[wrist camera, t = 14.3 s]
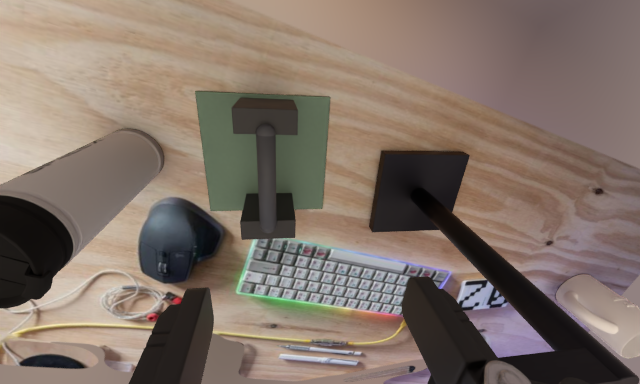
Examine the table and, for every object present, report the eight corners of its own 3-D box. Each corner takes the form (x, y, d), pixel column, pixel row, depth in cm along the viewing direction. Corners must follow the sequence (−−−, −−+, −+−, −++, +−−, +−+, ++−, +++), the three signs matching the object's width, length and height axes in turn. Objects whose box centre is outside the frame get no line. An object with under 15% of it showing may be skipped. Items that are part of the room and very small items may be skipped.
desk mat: (196, 90, 30) (195, 91, 30) (329, 96, 33) (330, 97, 32) (211, 209, 37) (210, 211, 36) (321, 207, 39) (322, 208, 39)
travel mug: (159, 187, 34) (37, 327, 17) (100, 167, 32) (-113, 301, 15) (174, 143, 32) (51, 249, 15) (111, 118, 30) (-122, 206, 13)
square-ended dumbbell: (240, 97, 31) (228, 110, 23) (293, 99, 32) (299, 112, 24) (247, 209, 37) (240, 247, 30) (291, 208, 38) (295, 245, 31)
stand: (344, 150, 36) (485, 338, 12) (463, 151, 38) (773, 308, 15) (336, 227, 41) (423, 467, 17) (441, 224, 44) (644, 428, 20)
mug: (558, 267, 52) (631, 320, 42) (601, 275, 56) (679, 327, 45) (533, 298, 56) (594, 355, 45) (574, 304, 59) (641, 359, 48)
